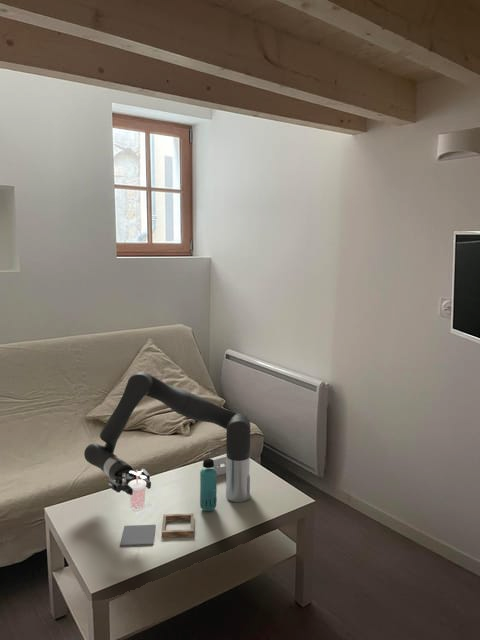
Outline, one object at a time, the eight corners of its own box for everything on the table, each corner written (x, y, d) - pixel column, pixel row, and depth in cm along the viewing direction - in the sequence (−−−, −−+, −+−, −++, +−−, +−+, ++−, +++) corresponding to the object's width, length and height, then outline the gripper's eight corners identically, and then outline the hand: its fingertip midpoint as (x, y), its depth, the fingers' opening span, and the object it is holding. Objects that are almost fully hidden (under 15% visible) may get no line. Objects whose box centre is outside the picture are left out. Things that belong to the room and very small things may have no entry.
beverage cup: (126, 505, 169) (126, 467, 167) (144, 501, 171) (144, 464, 169) (130, 514, 163) (129, 475, 161) (148, 510, 166) (148, 472, 163)
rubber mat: (155, 526, 175) (155, 524, 175) (153, 545, 164) (153, 543, 164) (124, 527, 174) (124, 525, 174) (119, 546, 163) (119, 544, 163)
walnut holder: (193, 518, 180) (193, 513, 180) (193, 536, 169) (193, 531, 169) (163, 519, 179) (163, 514, 179) (161, 537, 168) (161, 532, 168)
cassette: (211, 477, 211) (211, 461, 210) (209, 476, 213) (209, 459, 211) (234, 471, 218) (235, 454, 216) (232, 469, 219) (232, 453, 218)
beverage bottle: (203, 516, 182) (204, 465, 178) (196, 507, 187) (197, 458, 184) (219, 512, 185) (220, 462, 181) (212, 503, 190) (212, 455, 187)
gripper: (98, 466, 171) (121, 485, 159) (135, 455, 181) (159, 472, 168) (99, 486, 173) (121, 506, 160) (136, 474, 182) (159, 492, 169)
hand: (140, 489), depth 164 cm, fingers closed on beverage cup, 6 cm apart
